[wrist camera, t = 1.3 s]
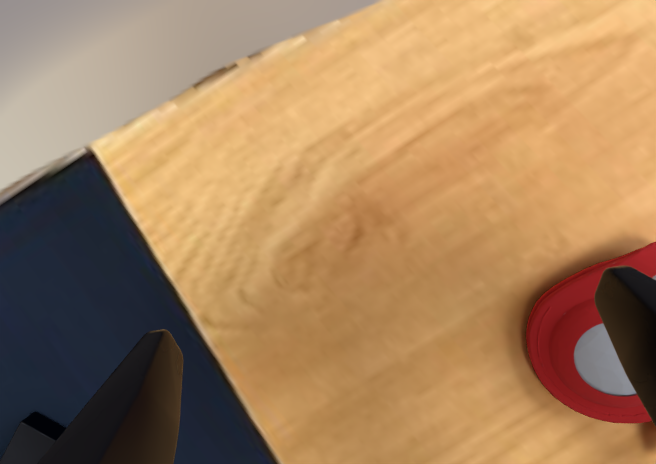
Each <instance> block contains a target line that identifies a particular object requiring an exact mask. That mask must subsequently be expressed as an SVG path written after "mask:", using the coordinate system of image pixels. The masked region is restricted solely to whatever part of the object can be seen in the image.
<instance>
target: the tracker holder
mask: <svg viewBox="0 0 656 464" xmlns="http://www.w3.org/2000/svg"><path fill="white" fill-rule="evenodd" d="M624 265H626V266H630V267H633V268H635V269H636V270H638V271H640V272H642V273H644V274H645V275H647V276H649V277H651V278H653V279H654V280H656V242H653V243H651V244H649V245H647V246H645V247H643V248H640V249H638V250H635V251H633V252H630V253H628V254H626V255H623V256H620V257H618V258H615V259H611V260H608V261H605V262H601V263H598V264H595V265H593V266H590V267H588V268H585V269H583V270H581V271H580V272H578V273H576V274H574V275H572V276H570V277H568V278H566V279H564V280H563V281H561V282H559V283H558V284H556V285H555V286H553V287H551V288H550V289H549V290H548V291H547V292H545V293H544V294H543V295H542V296H541V297H540V298H539V299H538V300H537V302H536V304H535V305H534V307H533V309H532V311H531V314H530V316H529V319H528V323H527V330H526V341H527V348H528V353H529V356H530V359H531V362H532V365H533V368H534V371H535V372H536V374H537V376H538V378H539V379H540V381H541V382H542V384H543V385H544V386H545V387H546V389H547V390H548V391H549V392H550V393H551V394H552V395H553V396H554V397H555V398H557V399H558V400H559V401H561V402H562V403H563V404H565V405H566V406H568V407H569V408H571V409H573V410H575V411H577V412H579V413H581V414H583V415H586V416H588V417H591V418H595V419H598V420H602V421H607V422H613V423H643V422H649V421H652V419H651V418H650V416H649V414H648V412H647V411H646V409H645V407H644V406H643V404H642V402H641V400H640V399H639V397H638V395H637V393H636V392H635V390H634V388H633V386H632V385H631V383H630V381H629V379H628V377H627V375H626V373H625V371H624V369H623V367H622V365H621V363H620V361H619V358H618V356H617V354H616V351H615V349H614V347H613V344H612V342H611V340H610V338H609V335H608V333H607V331H606V328H605V326H604V324H603V322H602V319H601V317H600V315H599V312H598V310H597V308H596V305H595V301H594V295H595V292H596V289H597V286H598V284H599V281H600V279H601V276H602V273H603V271H604V270H605V269H606V268H609V267H616V266H624Z"/></svg>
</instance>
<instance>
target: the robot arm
mask: <svg viewBox="0 0 656 464" xmlns="http://www.w3.org/2000/svg"><path fill="white" fill-rule="evenodd" d="M594 301H595V305H596V308H597V310H598V312H599V315H600V317H601V319H602V322H603V324H604V326H605V328H606V331H607V333H608V335H609V338H610V340H611V342H612V344H613V347H614V349H615V351H616V354H617V356H618V358H619V361H620V363H621V365H622V367H623V369H624V371H625V373H626V375H627V377H628V379H629V381H630V383H631V385H632V386H633V388H634V390H635V392H636V393H637V395H638V397H639V399H640V400H641V402H642V404H643V406H644V407H645V409H646V411H647V412H648V414H649V416H650V418H651V419H652V421H653V423H654V425H655V426H656V280H654V279H653V278H651V277H649V276H647V275H645V274H644V273H642V272H640V271H638V270H636V269H635V268H633V267H630V266H626V265H624V266H616V267H609V268H606V269H605V270H604V271H603V273H602V276H601V279H600V281H599V284H598V286H597V289H596V292H595V295H594ZM182 371H183V356H182V353H181V350H180V349H179V347H178V345H177V344H176V342H175V340H174V339H173V337H172V335H171V334H170V332H169V331H167V330H157V331H151V332H148V333H146V334H145V335H144V336H143V337H142V338H141V339H140V341H139V342H138V343H137V344H136V345H135V347H134V348H133V349H132V350H131V351H130V353H129V354H128V355H127V356H126V357H125V359H124V360H123V361H122V362H121V363H120V365H119V366H118V367H117V368H116V369H115V371H114V372H113V373H112V374H111V375H110V377H109V378H108V379H107V380H106V381H105V383H104V384H103V385H102V386H101V387H100V389H99V390H98V391H97V392H96V393H95V395H94V396H93V397H92V398H91V399H90V401H89V402H88V403H87V404H86V405H85V407H84V408H83V409H82V410H81V411H80V413H79V414H78V415H77V416H76V417H75V419H74V420H73V421H72V422H71V423H70V425H69V426H68V427H67V428H66V429H65V431H64V432H63V433H62V434H61V435H60V437H59V438H58V439H57V440H56V441H55V443H54V444H53V445H52V446H51V447H50V449H49V450H48V451H47V452H46V453H45V455H44V456H43V457H42V458H41V459H40V461H39V462H38V463H37V464H173V462H174V456H175V450H176V445H177V438H178V431H179V419H180V403H181V387H182Z"/></svg>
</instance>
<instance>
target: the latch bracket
mask: <svg viewBox="0 0 656 464" xmlns="http://www.w3.org/2000/svg"><path fill="white" fill-rule="evenodd" d="M65 429H66V428H64V427H63V426H61V425H59V424H57V423H55V422H54V421H52V420H50V419H48V418H46V417H45V416H43V415H41V414H39V413H37V412H34V413H32V414H31V415H30V416H28V417H27V418H25V419H24V420H23V421H21V422H20V424H19V426H18V428H17V430H16V432H15V434H14V436H13V438H12V440H11V441H10V443H9V445H8V447H7V449H6V451H5V453H4V455H3V457H2V459H1V460H0V464H37V463H38V462H39V461H40V459H41V458H42V457H43V456H44V455H45V453H46V452H47V451H48V450H49V449H50V447H51V446H52V445H53V444H54V443H55V441H56V440H57V439H58V438H59V437H60V435H61V434H62V433H63V432H64V431H65Z"/></svg>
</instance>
